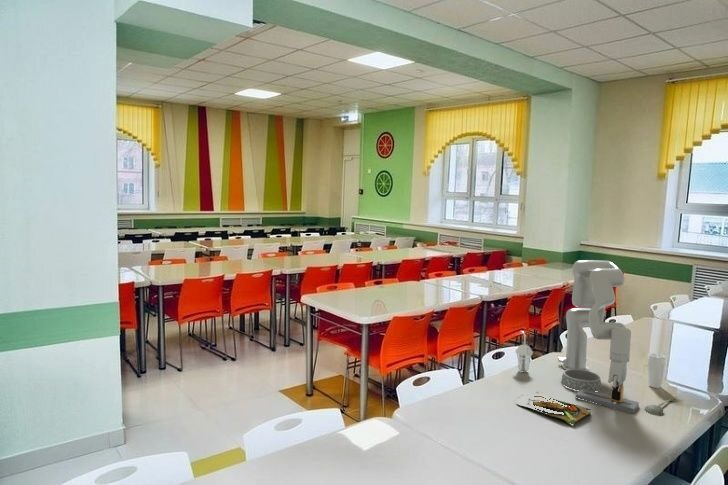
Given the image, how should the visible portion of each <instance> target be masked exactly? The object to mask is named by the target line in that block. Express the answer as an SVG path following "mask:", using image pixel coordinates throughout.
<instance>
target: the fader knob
mask: <svg viewBox="0 0 728 485" xmlns="http://www.w3.org/2000/svg"><path fill="white" fill-rule="evenodd" d="M616 386H617V385H616ZM624 389H625V388H624V385H623V386H620V401H618V400H614V399H612V387H611V392H610V395H611V400H614V401H618V402H622V401H623V398H624Z"/></svg>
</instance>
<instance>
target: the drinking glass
mask: <svg viewBox="0 0 728 485" xmlns="http://www.w3.org/2000/svg"><path fill="white" fill-rule="evenodd" d="M665 365H666V357H665V355H663V354H661V353H651V352H650V353H648V358H647V372H648V373H647V374H648V375H647V376H648V378H647V379H648V384H647V385H648V386H649V387H650V388H653V389H660V388H662V384H663V383H662V382H663V378H664V371H665Z"/></svg>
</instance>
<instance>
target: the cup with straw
mask: <svg viewBox="0 0 728 485" xmlns="http://www.w3.org/2000/svg"><path fill="white" fill-rule="evenodd" d="M520 333H522V335H523V337H524V338H523V344H520V345H519V346H517V348H516V350H515V351H514V352H515V354H516V356H517V357H516V358H517V366H518V371H519V370H520V371H523V372H527V371H528V372H529V369H530V368H529V367H530V363H531V358H532V356H533V354H534V352H533V351H532V349H531V347H530V346H529V345H527V344H526V342H527V340H526V339H527V338H526V337H527V336H526V334H525V332H524V331H523V330H520Z"/></svg>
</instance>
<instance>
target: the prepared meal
mask: <svg viewBox="0 0 728 485" xmlns="http://www.w3.org/2000/svg"><path fill="white" fill-rule="evenodd" d="M521 396H522V395H520V396H519V397H521ZM534 397H542V396H534ZM542 398H544V397H542ZM551 398H552V397H551ZM551 398H550V399H551ZM545 399H546V398H545ZM550 399H549V400H550ZM553 400H556V401H558V402H560V403H562V404H564V405H567V407H565V406H564V407H562V406H563V405H560V404H558V403H553V402H554V401H552V403H551V402H544V401H540V402H539V401H533V405H534V406H535V405H536V406H539V407H543V408H546V409H550V410H553V411H557V412H563V413H564V415H562V414H554V413H548V412H545V411H544V410H543V411H542V412H543V413H547V415H546V416H548V415H549V417H552V418H556V419H557V418H558V419H561V420H563V421H564V422H565V423H567V424H569V423H571V424H574V425H575V423H576V422H579V420H581V419H583V418H585V417H586V416H588V415H589V414H591V415H592V412H591V411H592V409H590V408H587V407H584V406H582V405H577V404H573V403H569V402H564V401H562V400H558V399H555V398H553ZM547 401H548V400H547ZM569 406H570V407H569ZM535 409H536V408H535ZM537 410H539V409H537ZM539 411H541V410H539Z"/></svg>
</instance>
